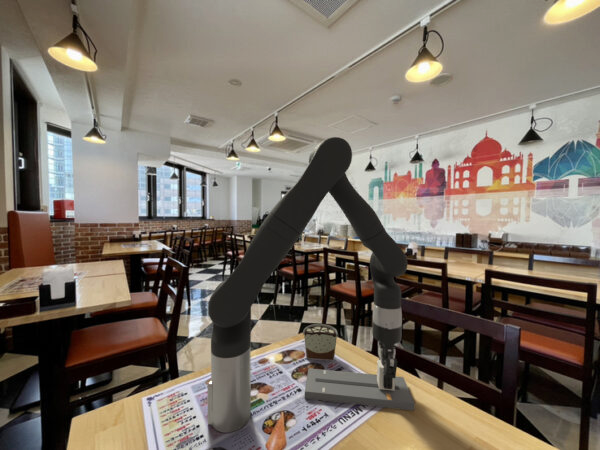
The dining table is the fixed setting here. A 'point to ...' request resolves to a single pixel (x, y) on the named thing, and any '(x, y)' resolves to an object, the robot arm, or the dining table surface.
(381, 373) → the slider handle
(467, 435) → the dining table surface
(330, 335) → the food container
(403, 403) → the fader board
